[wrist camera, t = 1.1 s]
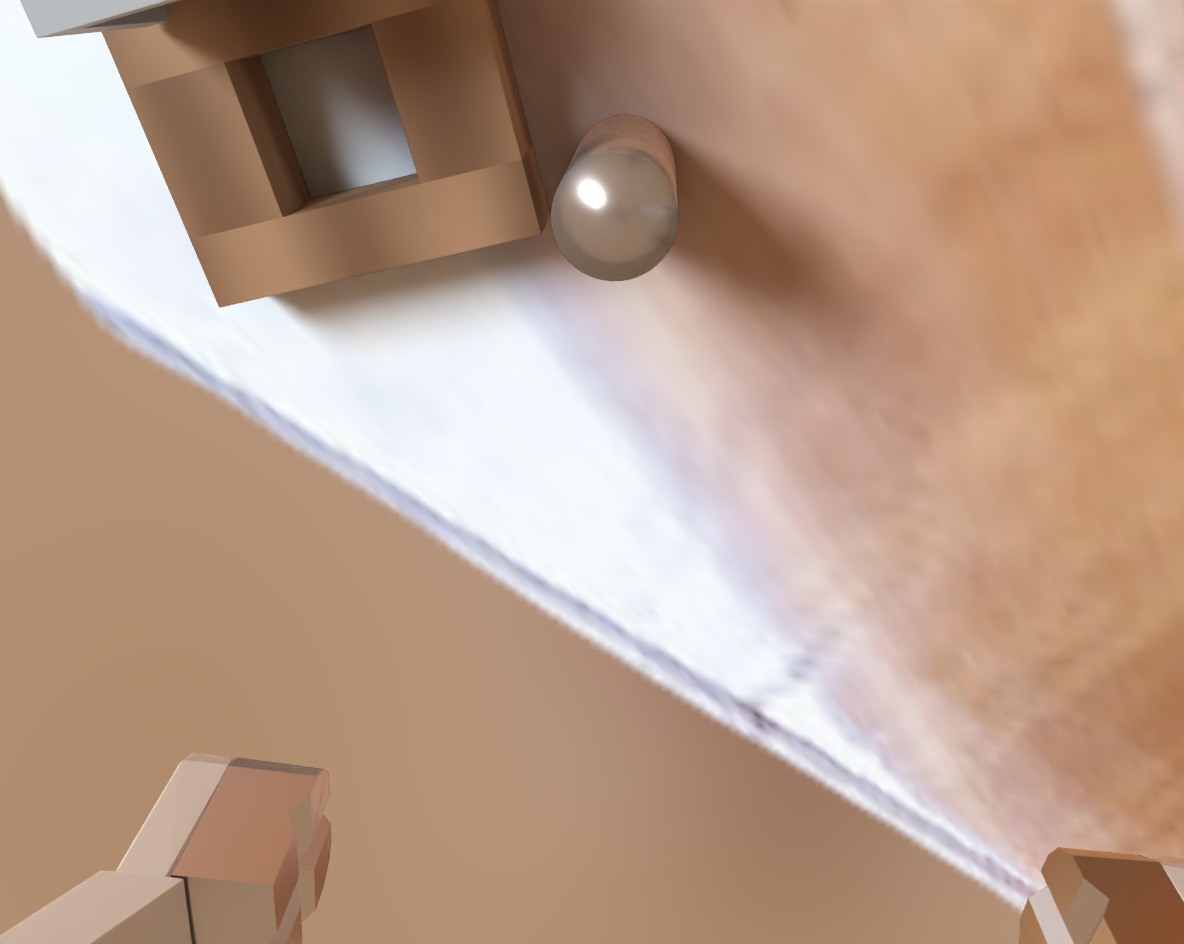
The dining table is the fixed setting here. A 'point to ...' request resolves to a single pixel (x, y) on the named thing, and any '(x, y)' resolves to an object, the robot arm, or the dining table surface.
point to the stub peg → (617, 200)
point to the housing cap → (92, 15)
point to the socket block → (269, 165)
